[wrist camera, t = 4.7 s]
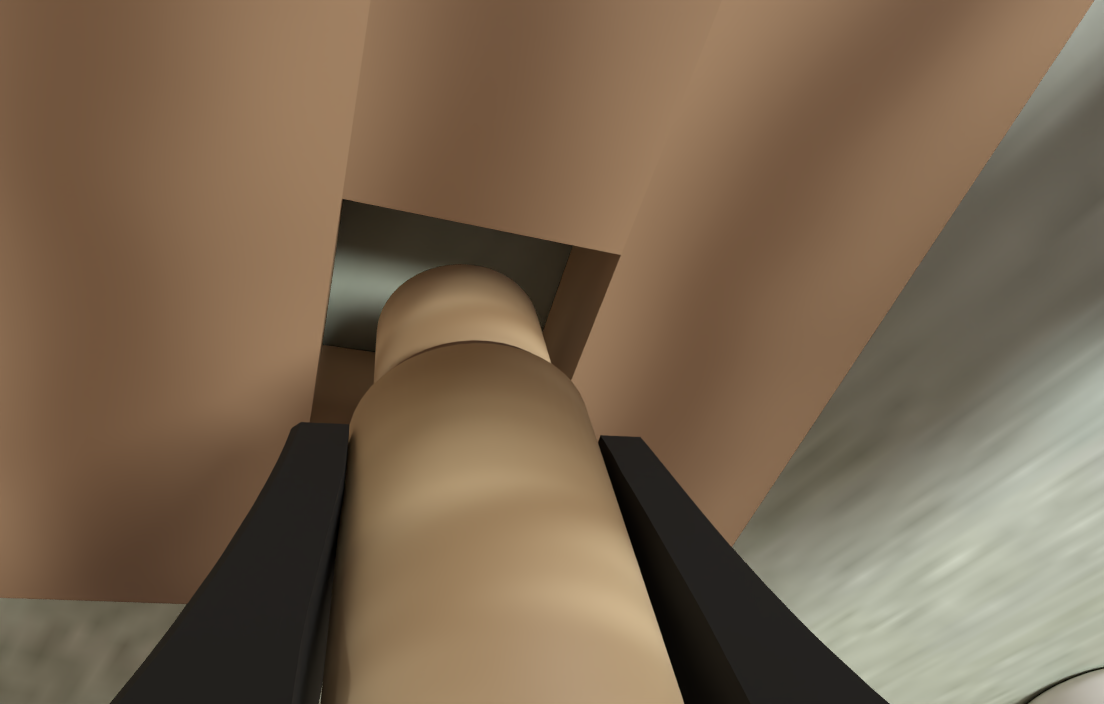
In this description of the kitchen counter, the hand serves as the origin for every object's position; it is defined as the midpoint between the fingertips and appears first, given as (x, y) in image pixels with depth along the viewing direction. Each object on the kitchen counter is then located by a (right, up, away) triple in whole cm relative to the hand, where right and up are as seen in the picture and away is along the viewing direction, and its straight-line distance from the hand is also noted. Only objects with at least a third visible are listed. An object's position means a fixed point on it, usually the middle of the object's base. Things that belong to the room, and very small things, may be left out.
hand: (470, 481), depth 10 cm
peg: (0, +2, +2) cm, 3 cm away
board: (-1, +3, +5) cm, 6 cm away
